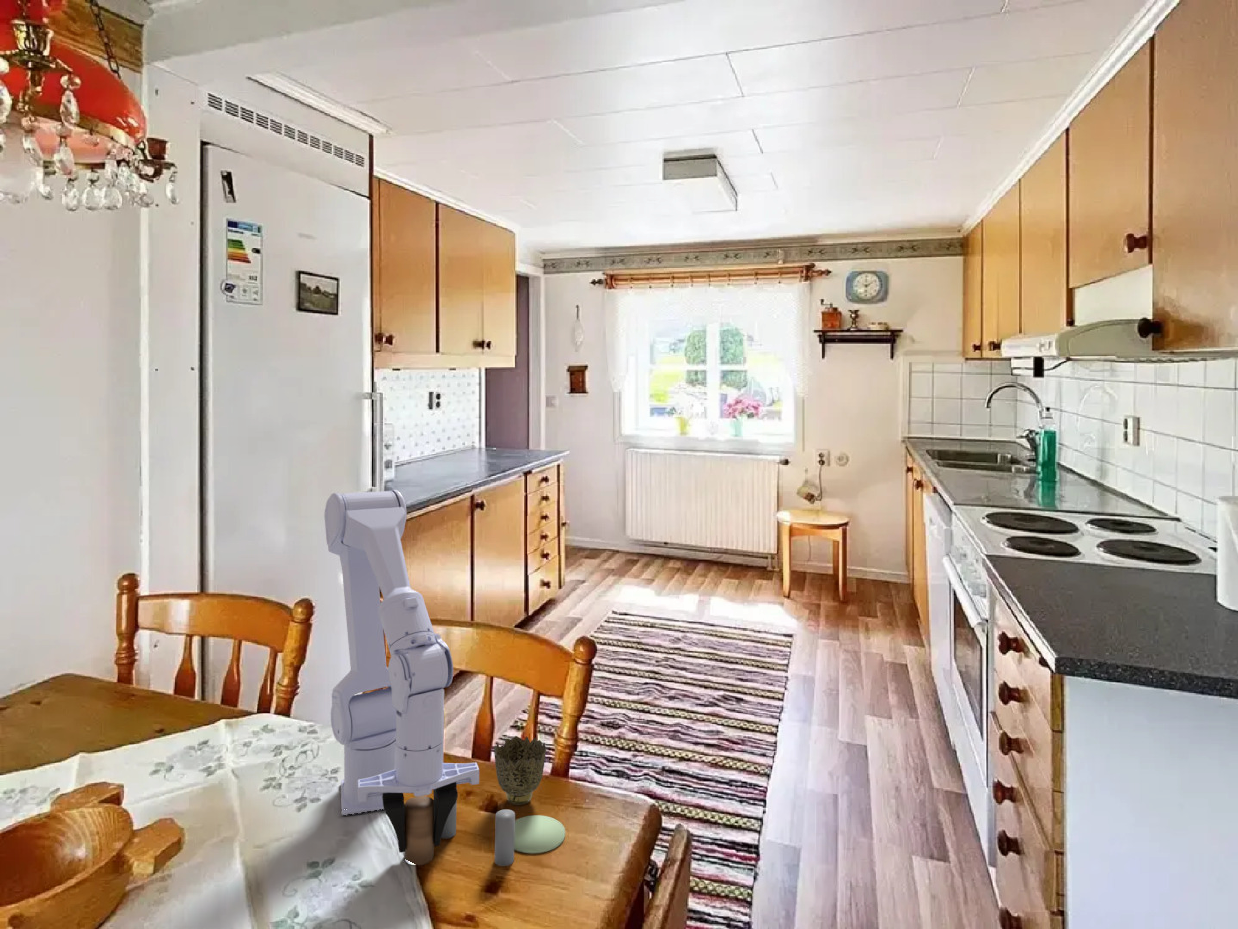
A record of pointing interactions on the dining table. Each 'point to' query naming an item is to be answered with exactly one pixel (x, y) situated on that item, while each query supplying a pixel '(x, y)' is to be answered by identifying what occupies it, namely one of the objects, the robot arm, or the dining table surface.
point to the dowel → (419, 830)
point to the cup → (519, 768)
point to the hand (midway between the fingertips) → (419, 844)
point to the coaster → (537, 834)
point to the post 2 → (504, 837)
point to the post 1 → (450, 824)
